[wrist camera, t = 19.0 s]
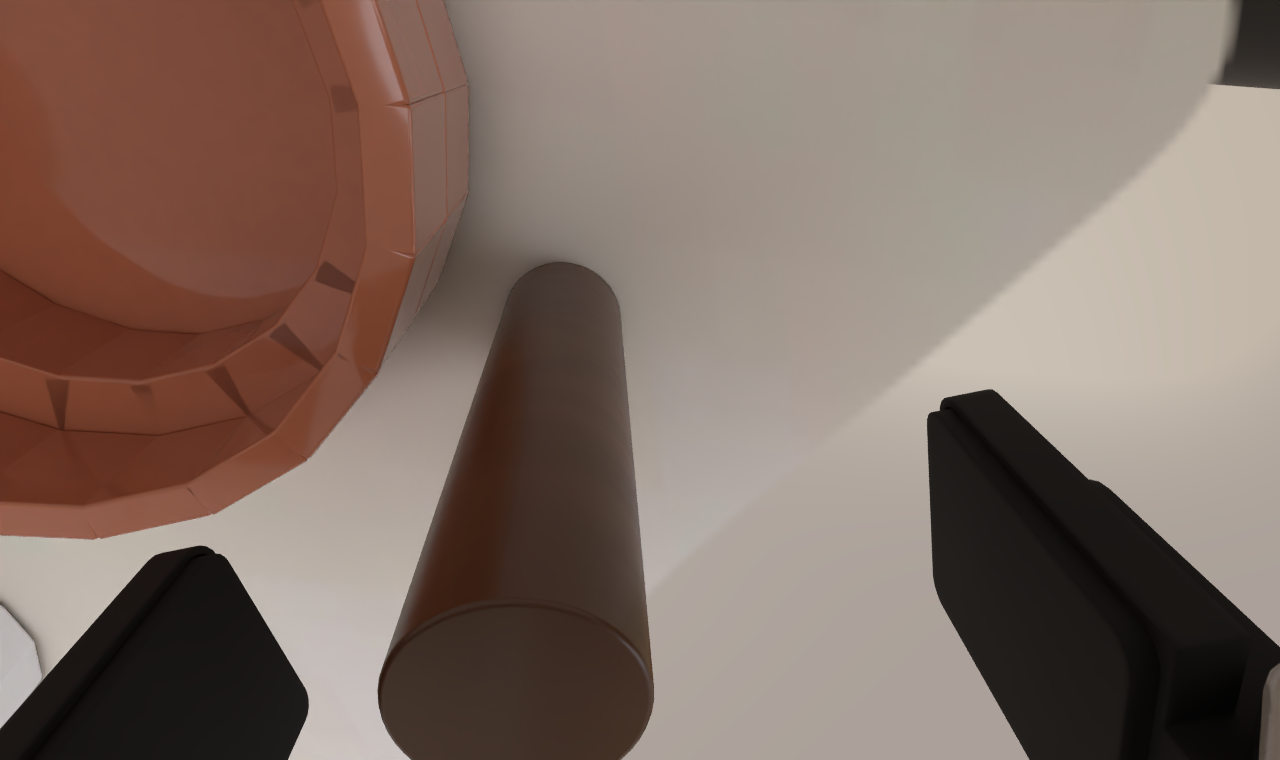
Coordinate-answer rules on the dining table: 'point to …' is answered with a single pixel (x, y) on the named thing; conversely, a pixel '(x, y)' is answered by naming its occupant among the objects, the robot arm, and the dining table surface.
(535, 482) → the dark brown cylinder
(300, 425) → the bowl
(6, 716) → the white cup
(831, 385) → the dining table surface
